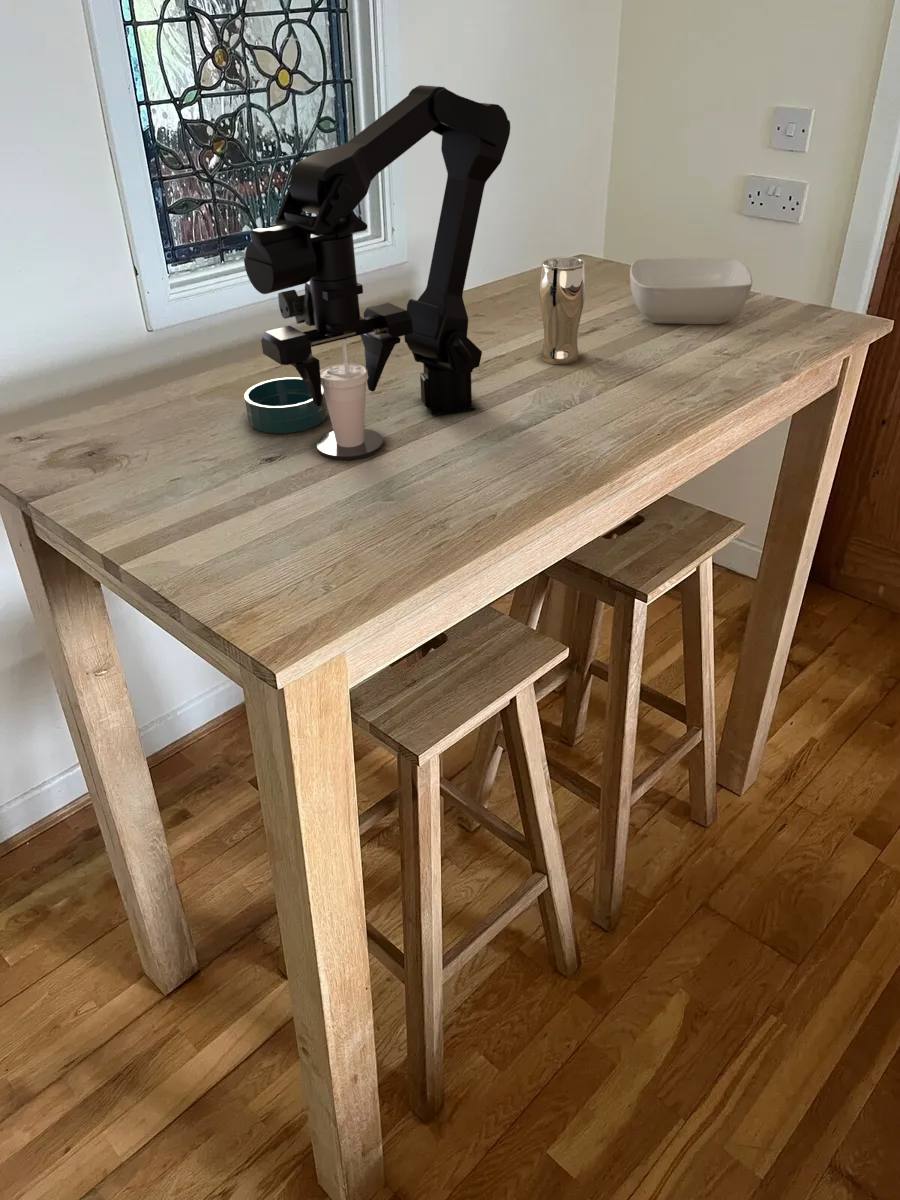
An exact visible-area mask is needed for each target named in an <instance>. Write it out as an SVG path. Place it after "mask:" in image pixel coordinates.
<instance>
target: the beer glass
mask: <svg viewBox="0 0 900 1200" xmlns="http://www.w3.org/2000/svg"><path fill="white" fill-rule="evenodd" d="M539 281H540V282H539V304H540V312H541V318H542V325H543V345H542V348H541V353H540V354H541V355H540V358H541V361H543V362H545V363H547V364H552V365H569V364H573V363H575V362H577V361H578V360H579V359H580V354H579V346H578V333H579V327H580V323H581V319H582V318H581V317H582V315H583V314H582V313H583V308H584V304H585V296H586V262H585V260H584V259H582V258H578V257H573V256H555V257H549V258H546V259H544V260H542V262H541V271H540V280H539Z"/></svg>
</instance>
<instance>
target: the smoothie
mask: <svg viewBox="0 0 900 1200" xmlns="http://www.w3.org/2000/svg"><path fill="white" fill-rule="evenodd" d="M341 348H342V356H343V363H337V364H332V365H328V366H326V367H324V368H322V369H320V377H321V385H322V386H323V390H324V395H325V398H326V404H327V412H328V414H329V418H330V419H329V420H330V422H331V426H332V431H334V435H335V439H336V443H337V445H339V446H341V447H355V446H358V445H361V444H362V443H363V442H364V429H365V423H366V422H365V419H366V393H367V380H368V371H367V369H366V366H363V365H361V364H357V363H349V356H348V345H347V338H345V339H342V340H341Z"/></svg>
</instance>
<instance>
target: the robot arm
mask: <svg viewBox="0 0 900 1200" xmlns="http://www.w3.org/2000/svg"><path fill="white" fill-rule="evenodd" d="M431 132H433V133H435V134H437V135H440V136H441V145H440V146H441V147H440V148H441V151H440V152H441V154H442V158H443V161H444V165H445V169H446V173H447V177H446V181H445V183H446V184H445V189H444V193H443V199H442V204H441V208H440V209H441V210H440V215H439V220H438V225H437V231H436V236H435V241H434V247H433V252H432V257H431V263H430V268H429V274H428V279H427V284H426V287H425V289H424V291H423V292H422V293H421V294H420V296H419V297H418V299H417V300H416V299H413V298H409V300H408V302H407V304H406V309H404V308H402V307H399V306H397V305H395V304H393V303H390V302H386V303H382V304H377V305H373V306H368V307H366V308H365V310H364V311H363V317H362V316H361V311H360V310H361V309H360V301H359V295H362V294H364V287H363V284H362V283H359V282H358V279H357V278H358V276H357V268H356V256H355V255H356V254H355V246H354V245H355V244H354V233H358V232H359V233H360V232H363V231H366V230H367V229H368V223H366V222H365V221H364V220H362V219H361V218H360V217H359V216H357V214H356V213H355V211H354V210H356V208H357V206H359V204H360V203H361V202H362V201H363V200H364V198H366V196H367V195H368V192H369V189H370V186H371V183H372V181H373V180H374V179H375V178H376V176H377V175H379V173H381V172H382V171H383V170H384V169H386V168H387V167H388V166H389V165H391V164H392V163H393V162H394V161H396V160H397V159H399V157H401V156H402V155H404V154H405V153H406V152H407V151H408V150H410V149H411V148H412V147H413V146H415V145H416V144H417V143H418V142H420V141H421V140H422V139H424V137H426V136H427V135H428V134H430V133H431ZM510 135H511V120H509V119H508V116H507V112H506V111H505V109H504V107H502V106H501V105H500V104H496V103H487V102H478V101H475V100H473V99H470V98H467V97H464V96H461V95H460V94H457V93H455V92H453V91H451V90H449V89H447V88H446V87H445V86H437V85H421V84H419V85H418V86H415V87H414V88H412V89H411V90H410V91H409V93H408V95H407V96H406V97H404V98H403V99H401V100H400V101H399V102H398V103H397V104H395V105H393V106H392V108H390V109H388V110H387V111H386V112H385V113H384V114H382V115H381V116H379V117H378V118H377V119H376V120H374V121H373V122H372V123H370V124H369V125H368V126H367V127H365V128H364V129H363V130H361V131H360V132H359V133H358V134H356V135H355V136H354V137H352V138H351V139H350V140H348V141H346V142H345V143H343V144H341V145H337V146H335V147H331V148H327V149H324V150H320V151H318V152H316V153H314V154H312V155H310V156H307V157H305V158H303V159H302V160H301V159H300V160H299V161H298V162H297V163H296V164H295V165H294V166H293V167H292V168H291V171H290V181H289V185H288V187H287V188H288V189H287V191H286V193H285V196H284V198H283V201H282V204H281V206H280V209H279V211H278V213H277V216H276V219H275V221H274V223H275V226H272V227H268V228H265V227H264V228H263V227H260V228H259V227H258V228H255V229H251V230H250V242H249V243H248V244H247V246H246V248H245V253H244V254H245V257H244V258H243V263H244V269H245V272H246V275H247V278H248V280H249V282H250V283H251V285H252V286H253V288H254V289H255V290H256V291H257V292H259V293H260V294H262V295H268V294H272V293H276V292H278V293H277V298H278V307H279V311H280V315H281V317H282V319H290V318H295V322H296V324H298V325H299V324H303V323H305V325H307V326H308V327H312V326H313V327H314V328H313V329H311V330H306V331H301V330H300V329H297V328H295V327H294V326H291V325H287V326H283V327H278V328H274V329H270V330H265V331H264V333H263V336H262V337H261V339H260V342H261V347H262V348H261V349H262V354H263V355H264V356H266V357H268V358H269V359H271V360H272V361H274V362H276V363H278V364H279V365H280V366H289V365H291V366H293V368H295V369H296V371H297V372H298V374H299V375H300V378H302V379H303V381H304V383H305V385H306V387H307V389H308V391H309V393H310V395H311V397H312V399H313V401H314V403H315V404H316V405H317V406H321V404H322V390H321V377H320V371H321V365H320V359H319V358H317V357H315V356H313V350H312V348H313V347H317V346H321V345H325V344H329V343H334V342H337V341H342V339H345V338H346V339H350V338H353V337H358V336H359V337H360V339H361V341H362V344H363V347H364V357H365V359H364V360H365V368H366V369H367V371H368V380H367V381H366V385H367V388H368V391H370V392H375V391H376V389H377V386H378V384H379V381H380V379H381V376H382V374H383V371H384V368H385V366H386V364H387V361H388V360H389V357H390V355H391V354H392V352H393V350H394V348H395V346H396V345H397V344H400V343H401V337H404V338H403V339H404V343H405V344H406V345H407V347H408V350H410V351H411V353H412V356H413V358H414V361H415V362H417V363H421V364H423V365H422V367H423V373H421V374H420V375H419V376H420V377H419V381H420V398H421V402H422V404H423V405H424V407H425V408H427V410H428V412H429V413H430V415H431V416H440V415H447V414H454V413H461V412H462V413H463V412H471V411H475V410H476V405H475V404H474V402H473V399H472V398H473V397H472V373H473V372H474V369H477V368H479V367H480V365H481V359H482V355H483V351H482V350H481V349H480V348H479V347H478V346H477V345H476V344H475V343H474V342H473V341H472V340H471V339H470V338H469V337H468V330H469V317H468V313H467V309H466V306H465V302H464V298H463V294H464V290H465V284H466V280H467V275H468V269H469V264H470V259H471V254H472V250H473V245H474V240H475V234H476V230H477V225H478V220H479V216H480V210H481V205H482V200H483V195H484V191H485V186H486V183H487V182H488V180H489V179H490V177H492V175H493V173H495V171H496V170H497V168H498V167H499V166H500V165H501V163H502V161H503V157H504V155H505V151H506V148H507V146H508V142H509V139H510ZM304 212H305V213H310V214H313V215H317V216H313V215H309V214H304ZM302 285H304V292H305V293H304V294H300V295H299V294H298V292H297V291H296V289H290V288H293V287H297V286H302ZM287 289H289V290H287ZM283 290H285V291H283ZM279 291H281V292H279Z"/></svg>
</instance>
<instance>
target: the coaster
mask: <svg viewBox="0 0 900 1200" xmlns="http://www.w3.org/2000/svg"><path fill="white" fill-rule="evenodd" d="M384 444H385V443H384V437H383V436H382V434H380V433H379V432H378V431H375V430H372V429H368V428H364V442H363V443H362V444H361V445H358V446H355V447H341V446H339V445H337V443H336V439H335V435H334V431H333V430H332V431H330V432H327V433H325V434H323V435H322V436H321V437H319V438H318V439H317V441H316V443H315V446H316V451H317V453H318V454H319V455H321V456H322V457H324V458H326V459H330V460H335V461H356V460H361V459H366V458H368V457H371V456H373V455H376V454H377V453H379V452H380V451H382V449H383V447H384Z"/></svg>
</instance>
